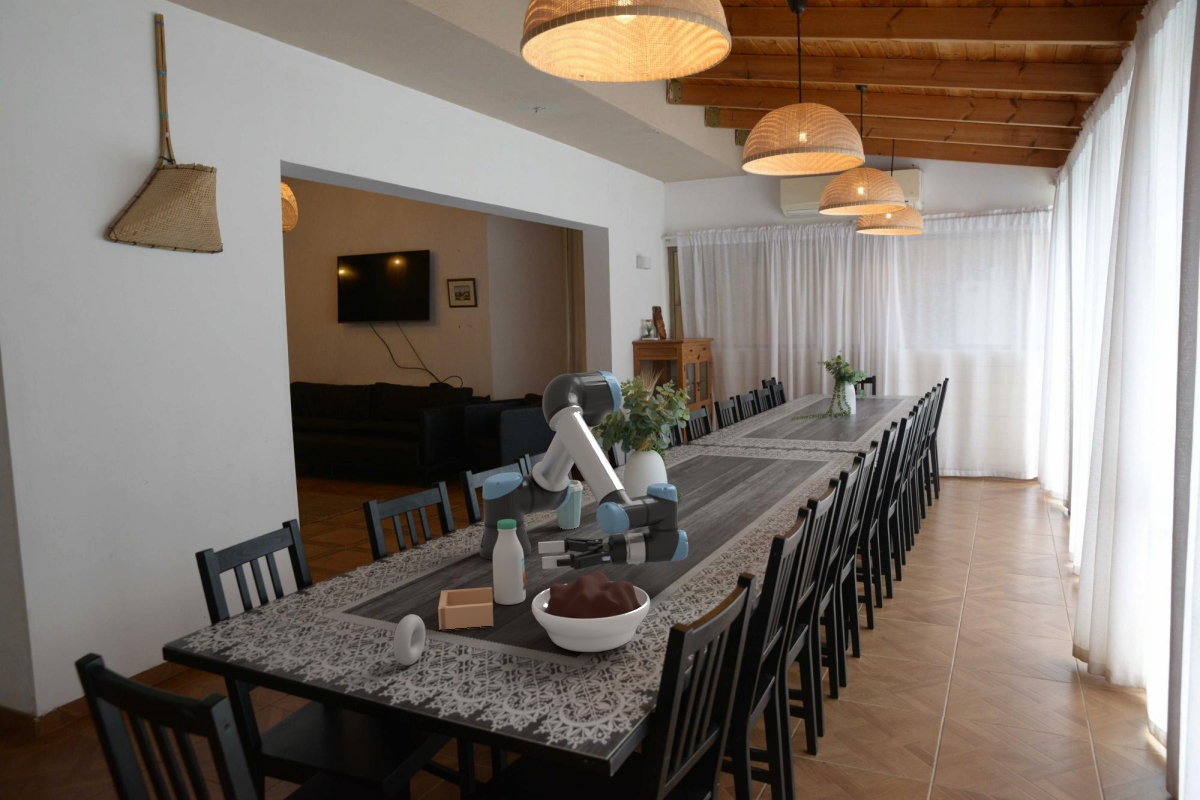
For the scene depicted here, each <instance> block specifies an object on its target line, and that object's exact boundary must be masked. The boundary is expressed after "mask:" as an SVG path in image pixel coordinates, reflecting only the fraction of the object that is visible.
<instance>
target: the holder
mask: <svg viewBox="0 0 1200 800" xmlns="http://www.w3.org/2000/svg"><path fill="white" fill-rule="evenodd" d="M493 595H494V594H493V586H488V587H485V586H484V587H475V588H459V589H447V590H444V589H443V590H441V592H440V597H439V602H438V608H437V611H438V630H440V629H455V628H467V627H480V628H482V627H481V626H492V627H494V612H493V611H494V600H493ZM467 629H468V628H467ZM455 630H456V629H455Z"/></svg>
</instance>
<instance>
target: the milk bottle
mask: <svg viewBox="0 0 1200 800" xmlns="http://www.w3.org/2000/svg"><path fill="white" fill-rule="evenodd" d="M497 527H498V531H499V535H498V539H497V542H496V544H495V547H494V550H493V560H492V575H493V577H492V578H493V581H492V582H493V595H494V601H495V603H496V604H499V605H505V606H508V605H517V604H520V603H522V602H524V601H525V600H526V598H527V597H526V594H527V593H526V590H527V589H526V573H525V572H526V571H525V569H526V568H525V556H524V554H523V549H522V546H521V544H520V542H519V540H518V538H517V535H516V520H513V519H503V520H499V521H498V522H497Z"/></svg>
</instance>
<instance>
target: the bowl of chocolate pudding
mask: <svg viewBox="0 0 1200 800" xmlns="http://www.w3.org/2000/svg"><path fill="white" fill-rule="evenodd" d="M650 608H651V599H650V596H649V595H648V593H647V592H646V591H645V590H644V589H641V588H639V587H637V586H636V585H633V584H632V582H631V581H629V580H616V581H611V580H610V579H609V578H608V576H606V574H605V573H603V572H602V571H598V570H595V571H594V572H593V571H592V572H591V573H589V574H583V575H580V576H578V577H577V578H576V579H575V580H571V581H569V582H568V583H559V582H558V583H557V582H553V583H552V585H551V586H550V587H549V588H547V589H544V590H543V591H541V592H540V593H538V594H537V595H536V596H535V597H534V598H533V599H532V603H531V613H532V615H533V616H534V617H535V620H536V621H537V622H538V624H540V625H541V627H543V628H544V629H545V630H546V632H547V635H548V637H549V638H550V640H551V641H552V642H553V644H555V645H556V646H559V647H560V648H563V649H564V650H565V649H566V650H568V651H573V652H581V653H584V652H585V653H596V652H597V653H598V652H604V651H605V652H606V651H610V650H613V649H616V648H619V647H621V646H623V645H625V644H627V643H628V642H630V641H631V640H632V639H633V637H634V636H635V634H636V631H637V628H638V625H640V624H641V623H642V622H643V620H644V619H645V618H646V616H647V614H648V612H649V610H650Z"/></svg>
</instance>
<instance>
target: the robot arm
mask: <svg viewBox="0 0 1200 800" xmlns="http://www.w3.org/2000/svg"><path fill="white" fill-rule="evenodd" d="M622 400H623V393H622V387H621V385H620V382H619V380H618V378H617V377H616V376H615V375H614V374H613V373H612V372H610V371H606V370H603V371H602V370H595V371H584V372H576V373H575V372H574V373H562V374H560V375H557V376H555V377H554V378H553V379H552V380H551V381H550V382H548V384H547V386H546V388H545V389H544V392H543V396H542V403H541V404H542V412H543V415H544V418H545V420H546V423H547V424H548V426H549V427H550V430H552V431H553V432H556V433H555V435H554V436H553V438H552V441H551V443H550V445H549V447H548V449H547V451H546V453H545V455H544V457H543V458H542V460H541V461H539V462H537V463H535V464H534V465H533V467H532V469H531V472H529V474H527V475H522V474H521V472H518V471H517V472H516V471H508V472H501V473H496V474H493V475H491V476H489V477H487V478H486V479H485V480H484V481H483V484H482V495H481V496H482V505H483V522H484V523H483V524H484V529H483V534H482V538H481V541H480V544H479V556H480V557H481V558H483V559H486V560H492V561H493V550H494V547H495V544H496V542H497V539H498V535H499V531H498V527H497V522H498V521H499V520H503V519H513V520H516V535H517V538H518V540H519V542H520V544H521V546H522V549H523V554H524V557H526V556H529V555H530V554H531V553H532V546H531V542H530V540H529V536H528V533H527V530H526V528H525V523H524V522H525V521H524V519H525V518H524V516H525V515H531V514H537V513H542V512H549V511H554V510H555V511H556V509H557V508H560V507H562V506H564V505H565V504H566V503H567V502H568V500H569V498H570V494H571V492H570V489H571V484H570V480H571V479H570V478H569V473H570V471H571V469H572V467H573V466H574V464H575V466H576V468H577V469H578V471H579V472H580V475H581V476H582V478H583V480H584V481H585V483H586V485H587V487H588V488H589V491H590V492H591V494H592V495H593V498H594V500H595V501H596V502H597V504H598V507H597V509H596V513H595V514H596V515H595V519H596V521H597V525H598V528H599V529H600V530H601V531H602V532H603V533H605V534H608V535H609V536H608V539H607V542H604V539H603V538H580V537H578V538H577V537H566V538H565V539H564V540H553V541H538V554H552V553H563V552H564V553H568V552H574V553H575V552H576V553H578V554H574V553H569V554H567V555H566V554H565V555H554V556H553V555H552V556H551V555H550V556H542V557H541V563H542V565H541V566H542V570H546V569H561V568H562V569H564V568H572V569H573V570H575V571H577V570H582V569H586V568H591V567H594V566H598V565H599V566H600V565H603V564H604V565H605V564H606V565H607V564H610V565H611V566H625V565H626V564H628V565H636V566H640V564H647V563H648V564H649V563H665V562H666V563H671V562H677V561H683V560H684V559H686V558H687V556H688V553H689V543H688V536H687V533H686V531H685V530H683V529H679V525H678V524H679V523H678V521H679V520H678V517H679V515H678V512H679V511H678V510H679V509H678V508H679V507H678V505H679V503H678V502H679V501H678V491H677V487H676V486H675V485H674V484H671V483H665V482H663V483H662V482H661V483H660V482H659V483H652V484H650V485H648V486H647V487H646V492H645V493H646V494H645V495H640V496H635V497H630V495H629V494H628V492H627V490H626V489H625V487H624V486H623V484H622V482H621V480H620V479H619V477H618V476H617V474H616V472H615V470H614V468H613V467H612V465H611V464H610V462H609V460H608V458H607V457H606V455H605V454H604V452H603V449H601V447H600V444H599V443H598V441H597V440H596V438H595V437H594V434H593V433H592V432H591V431H592V430H593V428H596V427H598V426H601V424H602V423H603V421H604V419H605V417H606V415H608V414H609V413H610V414H614V413H615V412H617V411H619V409H620V407H621V405H622V402H623V401H622ZM645 527H647V530H648V531H647V532H631V533H630V532H629V533H626V534H625V535H624V534H623V533H625V532H627V531H632V530H637V529H642V528H645Z"/></svg>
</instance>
